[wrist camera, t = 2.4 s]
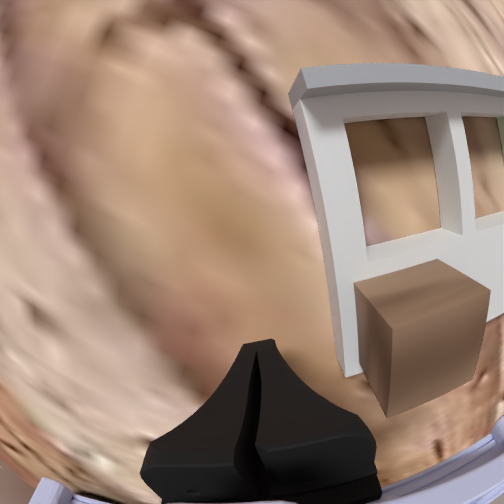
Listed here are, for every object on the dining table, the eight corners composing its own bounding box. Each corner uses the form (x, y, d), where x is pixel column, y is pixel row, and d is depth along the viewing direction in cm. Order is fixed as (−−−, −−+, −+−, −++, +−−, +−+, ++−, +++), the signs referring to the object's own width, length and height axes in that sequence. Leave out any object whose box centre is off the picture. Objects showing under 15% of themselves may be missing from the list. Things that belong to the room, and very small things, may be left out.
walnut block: (433, 336, 13) (472, 379, 9) (358, 362, 13) (386, 418, 9) (437, 258, 12) (490, 290, 8) (353, 282, 12) (392, 329, 8)
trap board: (547, 267, 14) (573, 280, 11) (336, 355, 15) (353, 396, 12) (537, 99, 10) (567, 97, 7) (288, 93, 11) (301, 68, 8)
